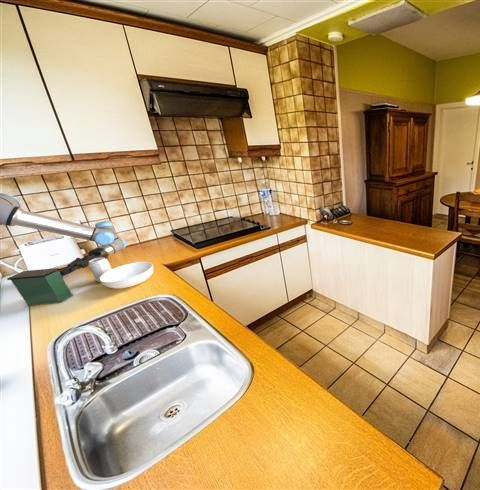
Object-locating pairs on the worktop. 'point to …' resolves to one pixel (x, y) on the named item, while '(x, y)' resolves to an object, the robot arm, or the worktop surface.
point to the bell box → (41, 286)
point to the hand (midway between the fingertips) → (61, 273)
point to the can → (99, 267)
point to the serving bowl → (127, 275)
